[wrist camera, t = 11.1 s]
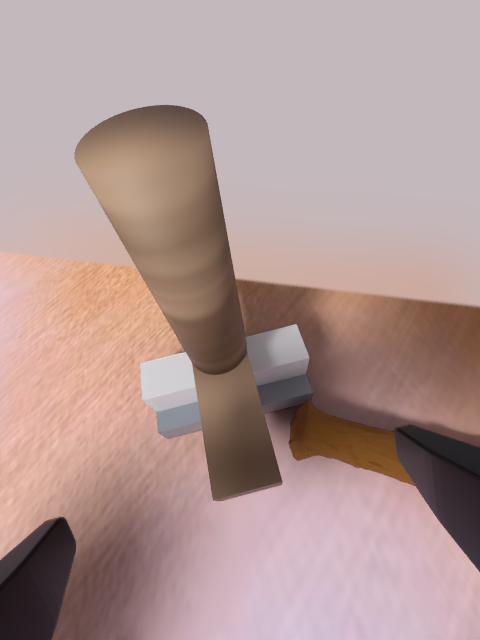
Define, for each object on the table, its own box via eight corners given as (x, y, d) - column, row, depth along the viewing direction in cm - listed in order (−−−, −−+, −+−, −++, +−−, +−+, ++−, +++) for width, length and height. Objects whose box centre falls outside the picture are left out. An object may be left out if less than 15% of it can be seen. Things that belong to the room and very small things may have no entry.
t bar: (283, 484, 14) (305, 408, 4) (218, 501, 14) (31, 480, 3) (225, 270, 22) (175, 32, 11) (182, 281, 22) (88, 51, 11)
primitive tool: (629, 471, 17) (700, 464, 14) (674, 593, 15) (774, 615, 12) (293, 405, 21) (295, 389, 18) (281, 492, 19) (281, 490, 16)
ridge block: (287, 339, 24) (290, 307, 20) (309, 401, 21) (317, 378, 17) (161, 371, 23) (139, 345, 19) (167, 438, 21) (143, 422, 17)
